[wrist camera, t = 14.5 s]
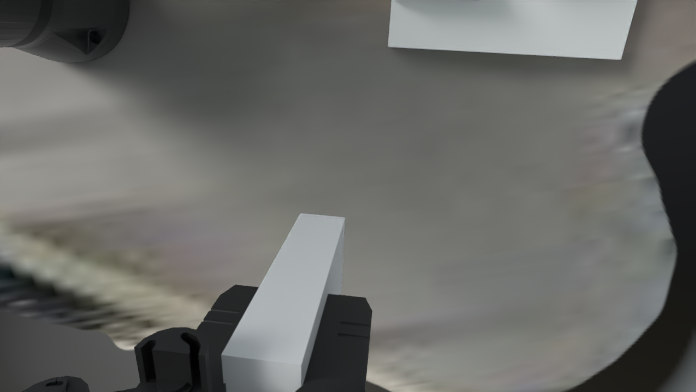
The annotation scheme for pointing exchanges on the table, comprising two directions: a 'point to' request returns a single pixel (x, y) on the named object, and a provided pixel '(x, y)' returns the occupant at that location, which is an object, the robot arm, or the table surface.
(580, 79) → the table surface
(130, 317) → the table surface
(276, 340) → the robot arm
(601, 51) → the instrument base
